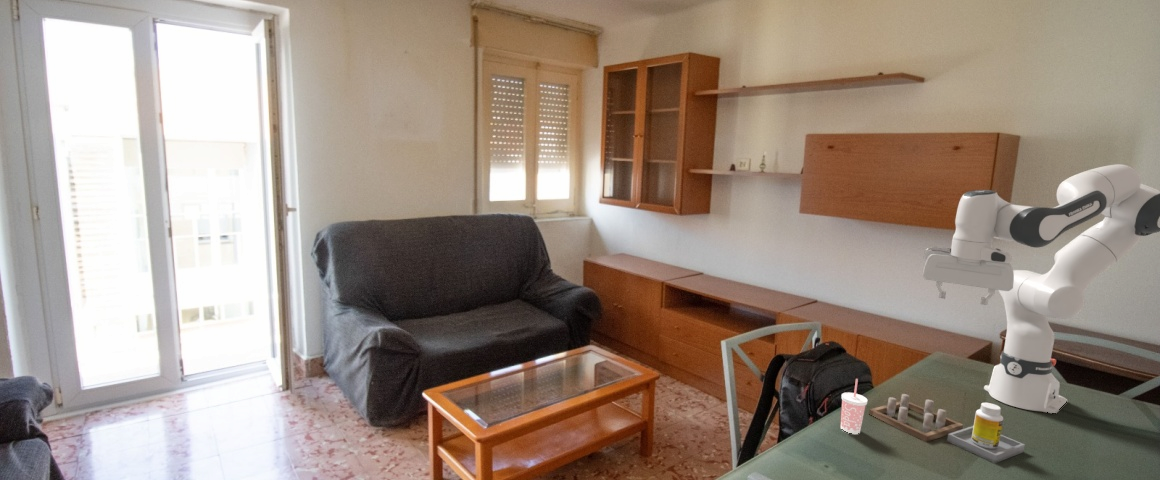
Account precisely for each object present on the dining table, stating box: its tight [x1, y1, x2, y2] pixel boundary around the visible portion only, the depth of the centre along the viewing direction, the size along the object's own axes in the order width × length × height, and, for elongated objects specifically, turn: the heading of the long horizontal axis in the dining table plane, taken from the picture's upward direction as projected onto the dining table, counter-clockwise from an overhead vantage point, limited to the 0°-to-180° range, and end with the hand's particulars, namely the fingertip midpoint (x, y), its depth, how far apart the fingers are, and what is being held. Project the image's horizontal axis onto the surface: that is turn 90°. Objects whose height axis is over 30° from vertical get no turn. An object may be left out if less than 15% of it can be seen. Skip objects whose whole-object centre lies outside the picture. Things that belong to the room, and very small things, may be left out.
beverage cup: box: [840, 378, 869, 435], centre depth 146 cm, size 6×6×14 cm
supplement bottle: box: [972, 402, 1004, 449], centre depth 140 cm, size 6×6×10 cm
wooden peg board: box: [868, 393, 964, 442], centre depth 152 cm, size 16×16×5 cm
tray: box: [946, 425, 1026, 464], centre depth 141 cm, size 13×11×2 cm
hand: (962, 301), depth 152 cm, fingers open, 8 cm apart
